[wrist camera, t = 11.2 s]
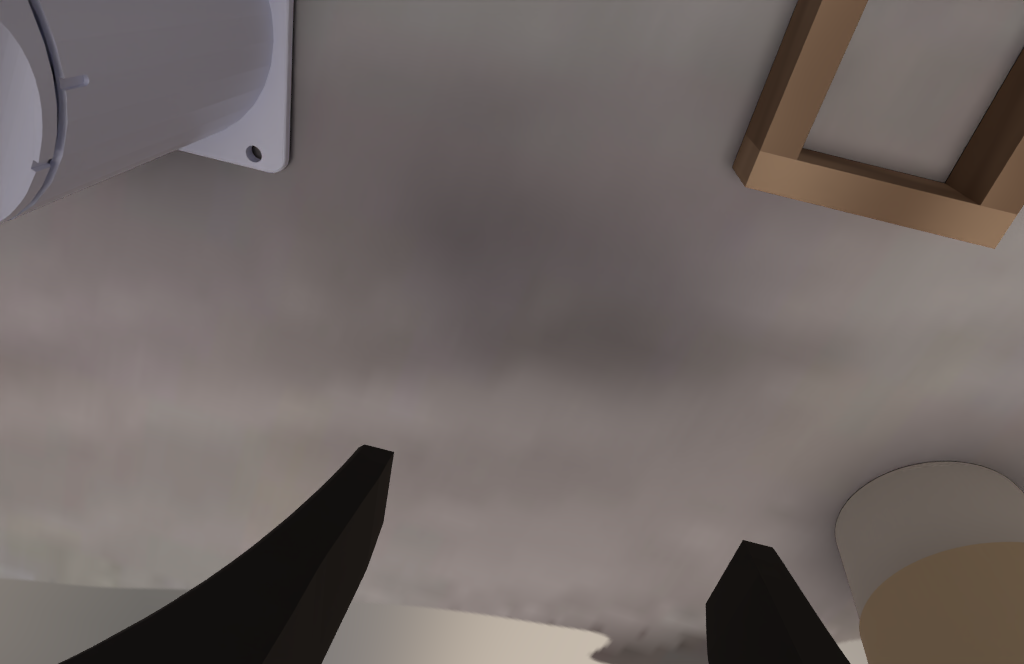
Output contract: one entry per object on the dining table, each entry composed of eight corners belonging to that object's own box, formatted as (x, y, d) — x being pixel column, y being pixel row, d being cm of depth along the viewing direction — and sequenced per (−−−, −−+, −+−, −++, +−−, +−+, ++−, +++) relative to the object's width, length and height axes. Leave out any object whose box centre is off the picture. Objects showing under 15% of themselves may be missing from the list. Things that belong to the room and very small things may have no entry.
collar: (732, 167, 19) (745, 187, 17) (842, -112, 15) (872, -122, 14) (959, 223, 19) (994, 248, 17) (1121, -42, 15) (1187, -44, 14)
